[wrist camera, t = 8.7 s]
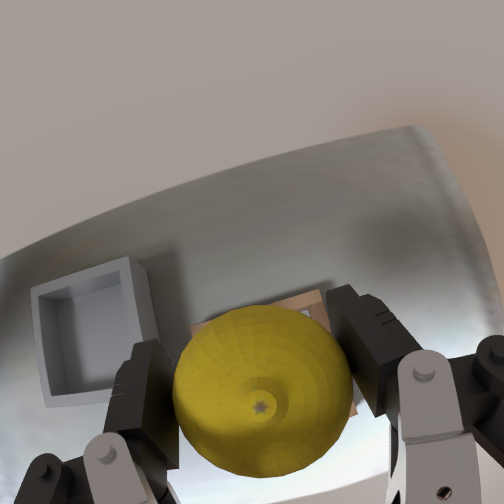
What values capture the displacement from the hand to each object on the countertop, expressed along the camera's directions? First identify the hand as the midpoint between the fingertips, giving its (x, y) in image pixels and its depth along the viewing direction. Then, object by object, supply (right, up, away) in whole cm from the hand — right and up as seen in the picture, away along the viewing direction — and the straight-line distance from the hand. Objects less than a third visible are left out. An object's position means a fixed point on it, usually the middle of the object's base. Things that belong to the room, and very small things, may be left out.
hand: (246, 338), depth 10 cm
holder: (-13, -5, +16) cm, 21 cm away
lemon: (+1, -3, +4) cm, 5 cm away
